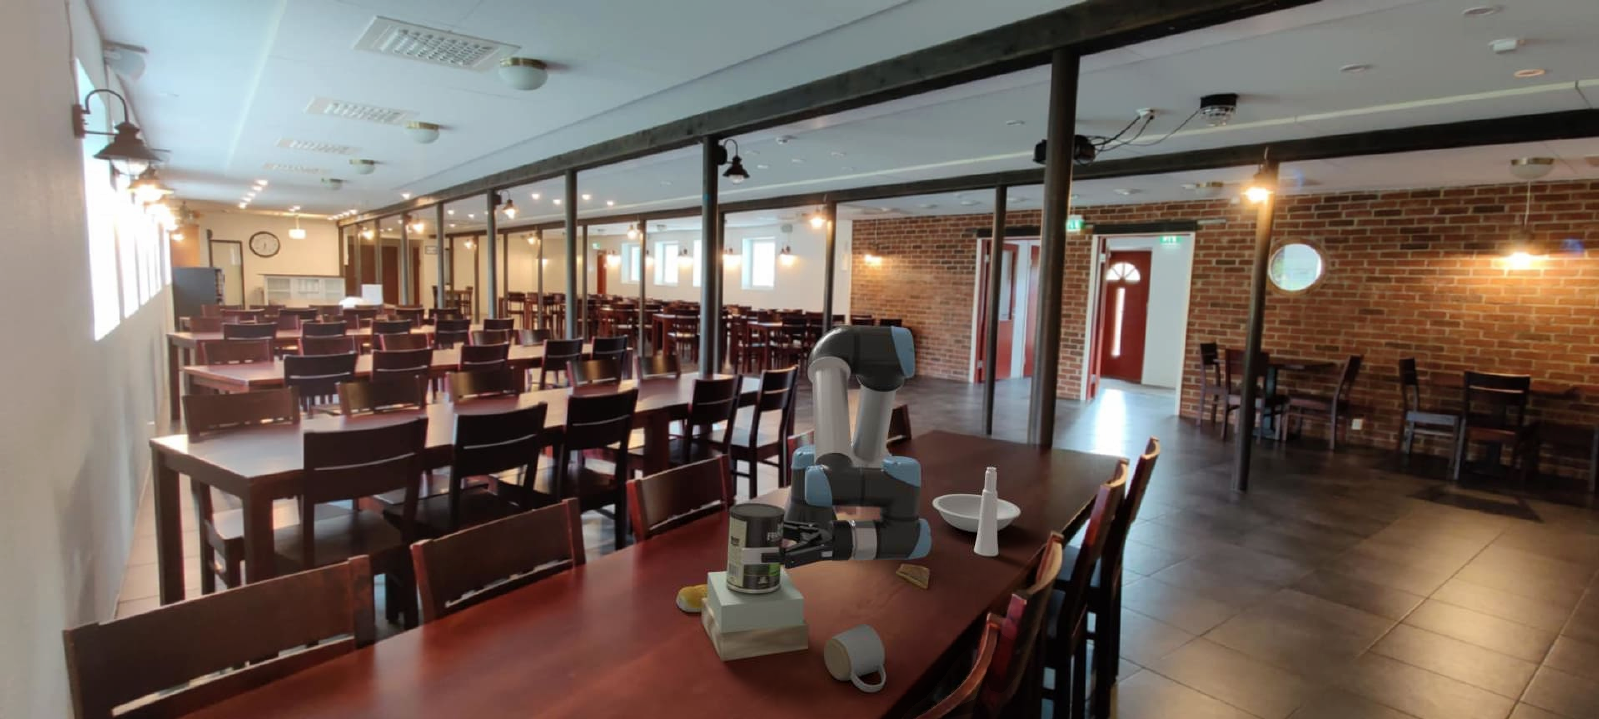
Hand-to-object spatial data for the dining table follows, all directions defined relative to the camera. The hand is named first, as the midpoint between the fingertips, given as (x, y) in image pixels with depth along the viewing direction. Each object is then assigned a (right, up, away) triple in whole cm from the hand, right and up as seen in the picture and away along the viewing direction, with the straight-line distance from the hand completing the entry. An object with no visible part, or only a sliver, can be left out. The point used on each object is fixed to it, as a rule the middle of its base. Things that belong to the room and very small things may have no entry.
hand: (737, 543), depth 134 cm
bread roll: (-9, -17, +15) cm, 24 cm away
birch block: (+3, -18, +2) cm, 19 cm away
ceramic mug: (+21, -20, -11) cm, 32 cm away
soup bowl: (+61, -14, +70) cm, 93 cm away
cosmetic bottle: (+59, -16, +51) cm, 80 cm away
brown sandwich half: (+39, -17, +33) cm, 54 cm away
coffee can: (+3, -8, +2) cm, 9 cm away
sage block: (+3, -13, +2) cm, 14 cm away
